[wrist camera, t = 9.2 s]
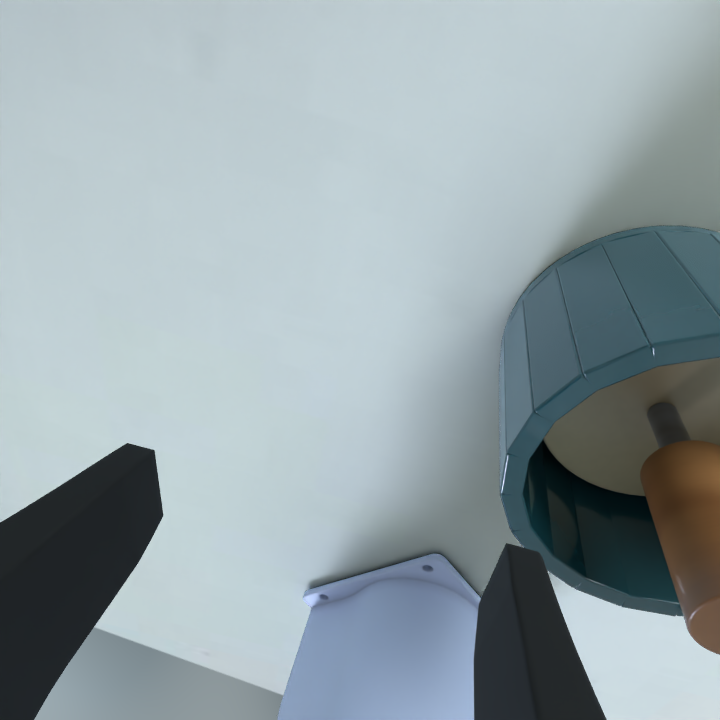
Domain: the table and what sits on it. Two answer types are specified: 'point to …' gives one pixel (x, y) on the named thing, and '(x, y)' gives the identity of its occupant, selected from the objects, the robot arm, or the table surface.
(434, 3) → the table surface
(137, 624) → the table surface
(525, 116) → the table surface
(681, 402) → the disc with orange handle
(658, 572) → the teal drum lampshade
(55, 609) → the robot arm
